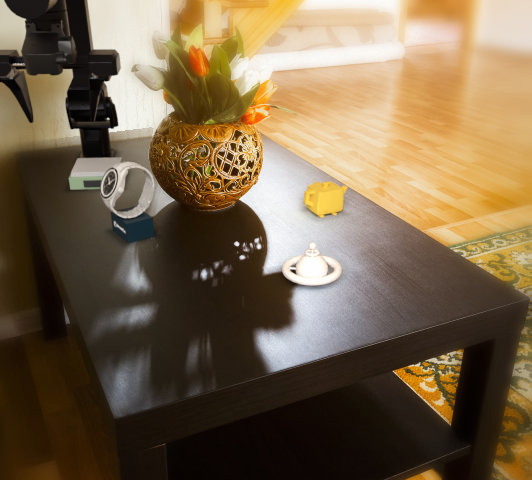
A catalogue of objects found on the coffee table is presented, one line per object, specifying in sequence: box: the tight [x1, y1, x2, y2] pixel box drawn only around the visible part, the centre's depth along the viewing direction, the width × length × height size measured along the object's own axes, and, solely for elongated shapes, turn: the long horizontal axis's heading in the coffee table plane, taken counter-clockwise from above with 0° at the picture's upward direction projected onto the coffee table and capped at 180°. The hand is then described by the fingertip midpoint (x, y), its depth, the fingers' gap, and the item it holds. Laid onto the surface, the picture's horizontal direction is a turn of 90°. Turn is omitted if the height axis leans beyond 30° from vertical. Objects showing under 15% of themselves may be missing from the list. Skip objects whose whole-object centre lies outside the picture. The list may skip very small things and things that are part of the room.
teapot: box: [302, 181, 348, 218], centre depth 104 cm, size 8×6×5 cm
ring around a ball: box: [281, 242, 343, 287], centre depth 83 cm, size 8×6×8 cm
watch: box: [99, 161, 156, 244], centre depth 94 cm, size 6×8×11 cm
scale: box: [68, 156, 126, 191], centre depth 116 cm, size 9×9×3 cm
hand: (62, 121), depth 97 cm, fingers open, 9 cm apart
